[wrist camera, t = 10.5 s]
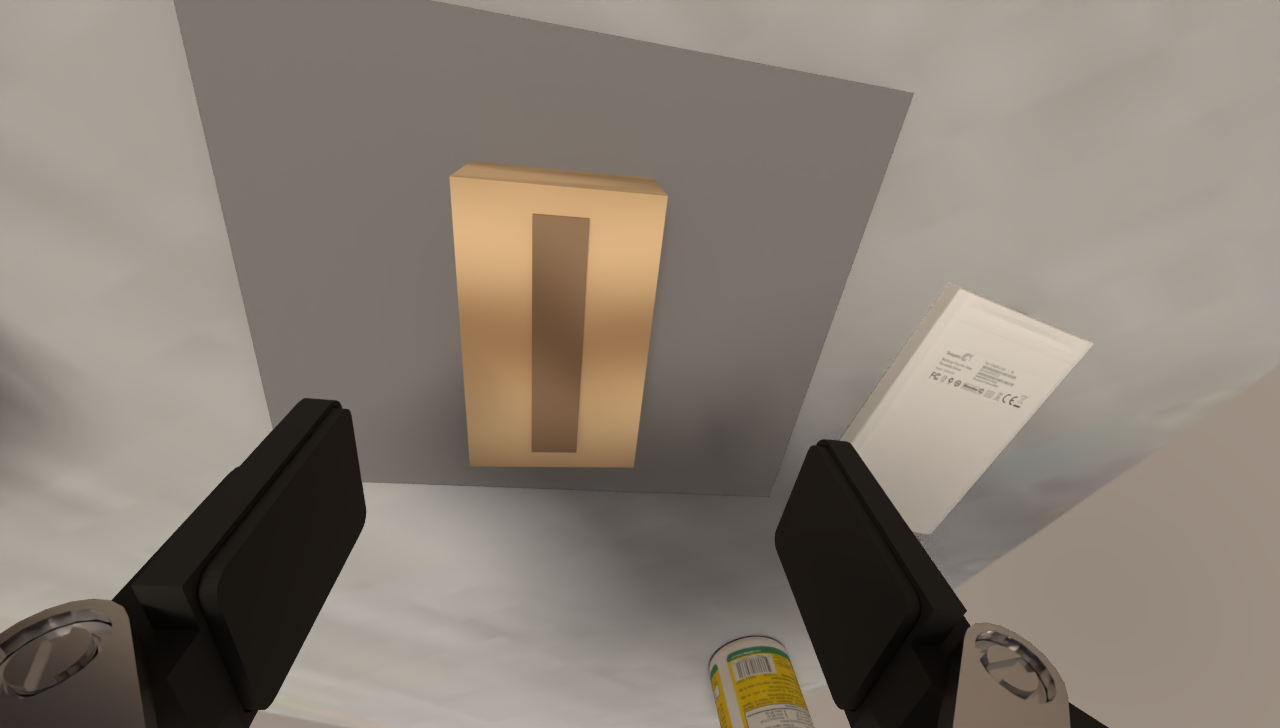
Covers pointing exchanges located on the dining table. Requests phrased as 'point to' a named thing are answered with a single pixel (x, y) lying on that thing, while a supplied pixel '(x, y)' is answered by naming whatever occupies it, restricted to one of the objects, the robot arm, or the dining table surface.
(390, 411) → the rubber mat
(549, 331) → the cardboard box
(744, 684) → the supplement bottle
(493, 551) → the dining table surface
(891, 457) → the external hard drive
